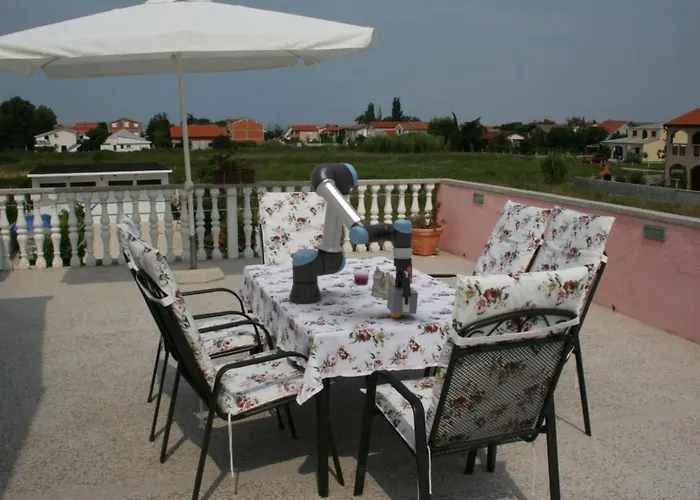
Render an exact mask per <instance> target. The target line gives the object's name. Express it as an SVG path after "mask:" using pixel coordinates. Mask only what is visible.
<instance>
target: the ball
mask: <svg viewBox="0 0 700 500" xmlns="http://www.w3.org/2000/svg"><path fill="white" fill-rule="evenodd" d="M390 315H391V317H392V318H395V319H398V318H400V317H401V316H402V315H403V313H392V312H391V311H390Z"/></svg>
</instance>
